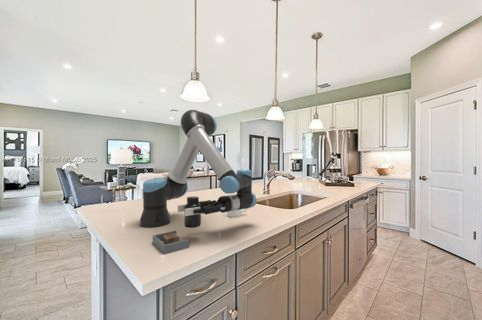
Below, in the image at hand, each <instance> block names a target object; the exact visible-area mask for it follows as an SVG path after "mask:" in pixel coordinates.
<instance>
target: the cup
mask: <svg viewBox="0 0 482 320" xmlns="http://www.w3.org/2000/svg"><path fill="white" fill-rule="evenodd" d="M247 210H248V209H240V210H234V212H232V211H229V212H226V216H227V217H228V218H240V217H241V216H242V213H246V211H247Z"/></svg>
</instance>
